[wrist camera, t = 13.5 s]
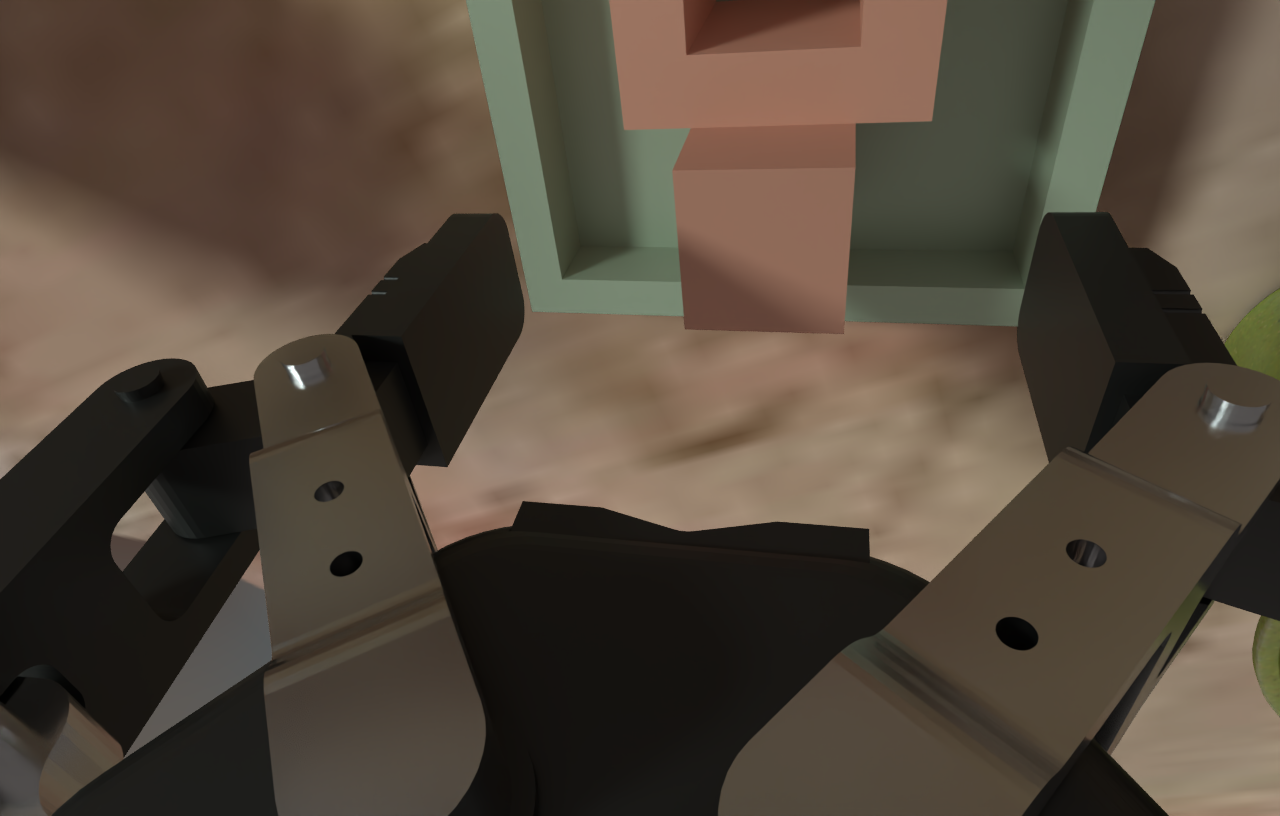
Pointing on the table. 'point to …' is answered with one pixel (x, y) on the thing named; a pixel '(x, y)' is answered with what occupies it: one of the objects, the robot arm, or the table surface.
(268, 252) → the table surface
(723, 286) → the collar
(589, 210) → the tray
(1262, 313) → the plant pot
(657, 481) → the table surface
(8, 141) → the table surface
